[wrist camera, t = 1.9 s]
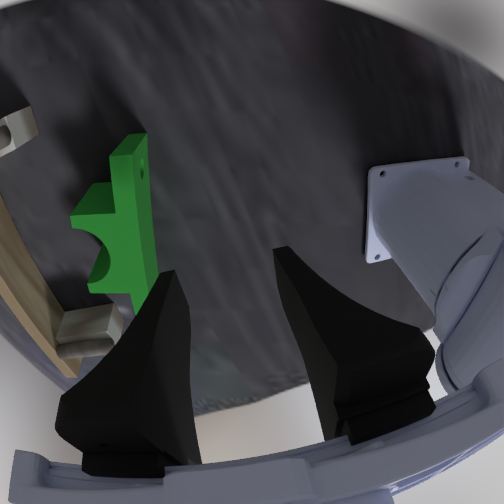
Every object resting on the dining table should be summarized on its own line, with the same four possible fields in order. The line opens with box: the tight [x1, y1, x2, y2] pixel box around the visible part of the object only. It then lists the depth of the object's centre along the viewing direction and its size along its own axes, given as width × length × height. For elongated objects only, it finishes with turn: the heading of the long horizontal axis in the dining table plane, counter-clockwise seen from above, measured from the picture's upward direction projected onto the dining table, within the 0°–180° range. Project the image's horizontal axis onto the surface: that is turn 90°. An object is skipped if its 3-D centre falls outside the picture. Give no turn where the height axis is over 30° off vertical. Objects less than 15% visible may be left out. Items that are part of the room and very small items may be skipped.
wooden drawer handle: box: [0, 106, 124, 378], centre depth 17 cm, size 6×22×4 cm, turn 8°
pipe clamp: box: [70, 133, 159, 316], centre depth 18 cm, size 11×4×5 cm, turn 175°
